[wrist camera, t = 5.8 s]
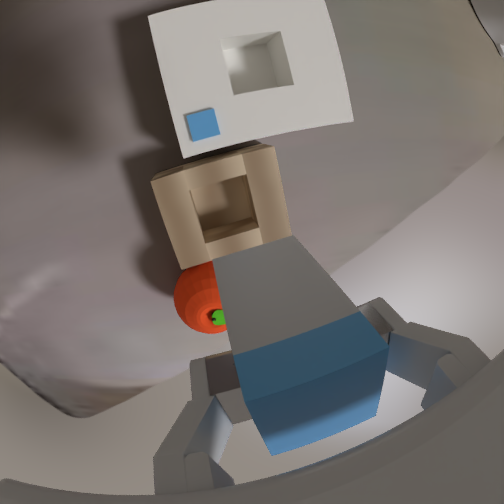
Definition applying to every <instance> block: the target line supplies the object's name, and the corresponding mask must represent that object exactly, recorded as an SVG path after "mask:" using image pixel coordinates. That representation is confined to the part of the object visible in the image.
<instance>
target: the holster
mask: <svg viewBox="0 0 504 504" xmlns="http://www.w3.org/2000/svg"><path fill="white" fill-rule="evenodd" d="M150 182H151V185H152V188H153V191H154V194H155V197H156V200H157V203H158V206H159V209H160V212H161V215H162V218H163V221H164V224H165V226H166V229H167V232H168V235H169V238H170V240H171V243H172V246H173V248H174V251H175V254H176V256H177V259H178V262H179V264H180V267H181V270H182V269H186V268H189V267H192V266H196V265H199V264H202V263H205V262H209V261H212V259H215V258H219V257H222V256H225V255H229V254H232V253H235V252H238V251H242V250H245V249H248V248H252V247H255V246H258V245H262V244H265V243H268V242H272V241H275V240H278V239H282V238H285V237H288V236H292V234H291V229H290V224H289V218H288V213H287V208H286V202H285V197H284V192H283V187H282V182H281V177H280V172H279V167H278V162H277V158H276V153H275V148H274V146H270V145H266V144H258V145H253V146H249V147H245V148H241V149H237V150H233V151H230V152H226V153H222V154H218V155H215V156H211V157H208V158H204V159H201V160H197V161H194V162H190V163H187V164H184V165H181V166H178V167H174V168H171V169H168V170H165V171H162V172H159V173H156V174H155V175H154V177H153V178H152V180H151V181H150Z"/></svg>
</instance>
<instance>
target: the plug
mask: <svg viewBox="0 0 504 504" xmlns="http://www.w3.org/2000/svg"><path fill="white" fill-rule="evenodd" d="M212 261H213V266H214V271H215V276H216V281H217V286H218V290H219V295H220V300H221V305H222V309H223V314H224V318H225V323H226V327H227V332H228V336H229V341H230V344H231V349H232V353H233V358H234V362H235V366H236V370H237V374H238V378H239V382H240V387H241V391H242V394H243V398H244V402H245V404H246V406H247V408H248V411H249V413H250V415H251V417H252V419H253V421H254V423H255V424H256V426H257V429H258V430H259V432H260V434H261V436H262V438H263V440H264V442H265V444H266V446H267V448H268V450H269V452H270V454H271V455H272V456H273V455H277V454H280V453H283V452H286V451H289V450H293V449H296V448H299V447H302V446H305V445H307V444H310V443H313V442H316V441H318V440H321V439H323V438H326V437H329V436H331V435H334V434H336V433H339V432H341V431H343V430H346V429H348V428H350V427H353V426H355V425H357V424H359V423H361V422H363V421H366V420H368V419H370V418H372V417H374V416H376V413H377V408H378V404H379V400H380V395H381V390H382V386H383V381H384V376H385V371H386V365H387V359H388V353H389V345H388V344H387V343H386V342H385V340H384V339H383V338H382V337H381V336H380V334H379V333H378V332H377V331H376V330H375V328H374V327H373V326H372V325H371V324H370V322H369V321H368V320H367V319H366V318H365V316H364V315H363V314H362V313H361V312H360V310H359V309H358V308H357V307H356V306H355V305H354V304H353V302H352V301H351V300H350V299H349V298H348V296H347V295H346V294H345V293H344V292H343V291H342V289H341V288H340V287H339V286H338V285H337V284H336V283H335V281H334V280H333V279H332V278H331V277H330V276H329V275H328V273H327V272H326V271H325V270H324V269H323V268H322V267H321V266H320V264H319V263H318V262H317V261H316V260H315V259H314V258H313V257H312V255H311V254H310V253H309V252H308V251H307V250H306V249H305V248H304V247H303V245H302V244H301V243H300V242H299V241H298V240H297V239H296V238H295V237H294V236H293V235H292V236H288V237H285V238H282V239H278V240H275V241H272V242H268V243H265V244H262V245H258V246H255V247H252V248H248V249H245V250H242V251H238V252H235V253H232V254H229V255H225V256H222V257H219V258H215V259H212Z"/></svg>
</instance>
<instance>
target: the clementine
mask: <svg viewBox="0 0 504 504" xmlns="http://www.w3.org/2000/svg"><path fill="white" fill-rule="evenodd" d="M174 303H175V307H176V310H177V313H178V315H179V316H180V317H181V319H182V320H183V321H184V323H185V324H187V325H188V326H189V327H190V328H192V329H194V330H196V331H198V332H203V333H208V334H215V333H220V332H223V331H225V330H227V327H226V323H225V318H224V314H223V309H222V305H221V300H220V295H219V290H218V286H217V281H216V276H215V271H214V266H213V261H209V262H205V263H202V264H199V265H196V266H192V267H189V268H187V269H186V270H185V271H184V272H183V273H182V274H181V275H180V277H179V278H178V280H177V283H176V286H175V290H174Z"/></svg>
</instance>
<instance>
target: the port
mask: <svg viewBox="0 0 504 504" xmlns="http://www.w3.org/2000/svg"><path fill="white" fill-rule="evenodd" d="M148 20H149V24H150V29H151V33H152V38H153V42H154V47H155V51H156V55H157V59H158V63H159V68H160V72H161V76H162V80H163V84H164V88H165V92H166V96H167V100H168V103H169V107H170V111H171V115H172V119H173V122H174V126H175V130H176V133H177V137H178V141H179V144H180V148H181V152H182V155H183V159H184V158H187V157H190V156H194V155H197V154H201V153H204V152H208V151H211V150H215V149H218V148H222V147H226V146H230V145H234V144H238V143H242V142H246V141H250V140H254V139H259V138H263V137H267V136H272V135H277V134H282V133H287V132H292V131H297V130H302V129H308V128H313V127H319V126H325V125H332V124H338V123H345V122H353V121H354V120H353V114H352V109H351V103H350V98H349V93H348V88H347V83H346V79H345V74H344V70H343V65H342V61H341V57H340V53H339V49H338V45H337V41H336V38H335V34H334V31H333V27H332V24H331V20H330V17H329V14H328V10H327V7H326V4H325V1H324V0H214V1H208V2H202V3H197V4H192V5H188V6H183V7H179V8H175V9H171V10H167V11H163V12H159V13H156V14H152V15H149V16H148Z"/></svg>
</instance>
